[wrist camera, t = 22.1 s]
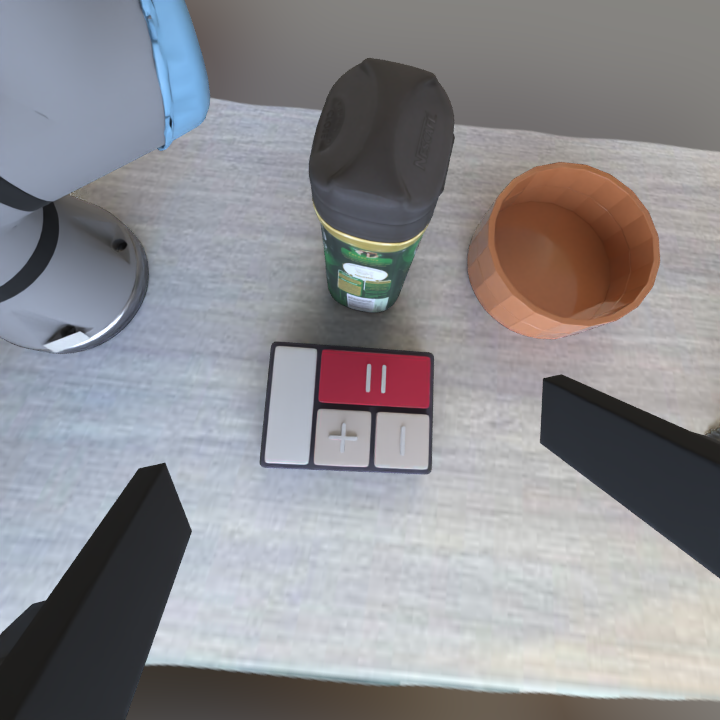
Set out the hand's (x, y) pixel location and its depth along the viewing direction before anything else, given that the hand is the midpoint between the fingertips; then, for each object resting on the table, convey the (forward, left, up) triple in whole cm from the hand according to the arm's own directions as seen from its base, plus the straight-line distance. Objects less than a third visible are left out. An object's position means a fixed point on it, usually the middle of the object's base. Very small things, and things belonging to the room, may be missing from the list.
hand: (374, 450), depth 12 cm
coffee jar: (-5, +15, -22) cm, 27 cm away
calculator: (-1, +1, -22) cm, 22 cm away
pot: (+12, +23, -21) cm, 34 cm away
